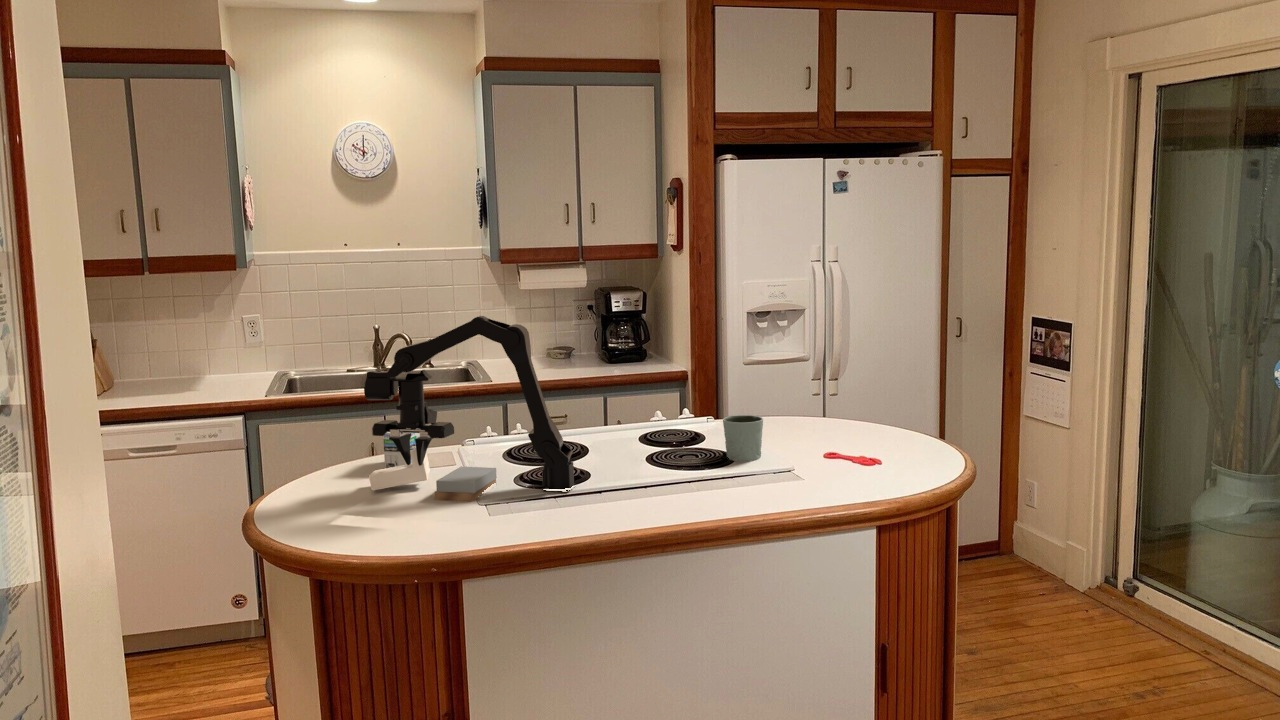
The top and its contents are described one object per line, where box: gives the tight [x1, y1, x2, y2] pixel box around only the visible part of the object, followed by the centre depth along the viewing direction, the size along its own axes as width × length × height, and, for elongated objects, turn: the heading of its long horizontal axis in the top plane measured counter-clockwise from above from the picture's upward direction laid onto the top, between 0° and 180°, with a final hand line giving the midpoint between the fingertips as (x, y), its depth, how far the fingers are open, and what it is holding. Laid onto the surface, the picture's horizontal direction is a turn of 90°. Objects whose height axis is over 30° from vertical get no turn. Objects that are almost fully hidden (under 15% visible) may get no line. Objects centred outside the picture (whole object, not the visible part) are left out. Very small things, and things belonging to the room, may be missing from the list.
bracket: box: [368, 446, 431, 491], centre depth 233 cm, size 13×7×8 cm, turn 96°
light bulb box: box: [382, 428, 420, 469], centre depth 251 cm, size 11×7×11 cm, turn 168°
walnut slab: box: [433, 478, 497, 503], centre depth 227 cm, size 9×14×2 cm, turn 165°
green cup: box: [722, 414, 764, 463], centre depth 249 cm, size 10×10×12 cm
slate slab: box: [435, 465, 497, 493], centre depth 227 cm, size 9×14×2 cm, turn 167°
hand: (414, 464), depth 230 cm, fingers closed on bracket, 3 cm apart
